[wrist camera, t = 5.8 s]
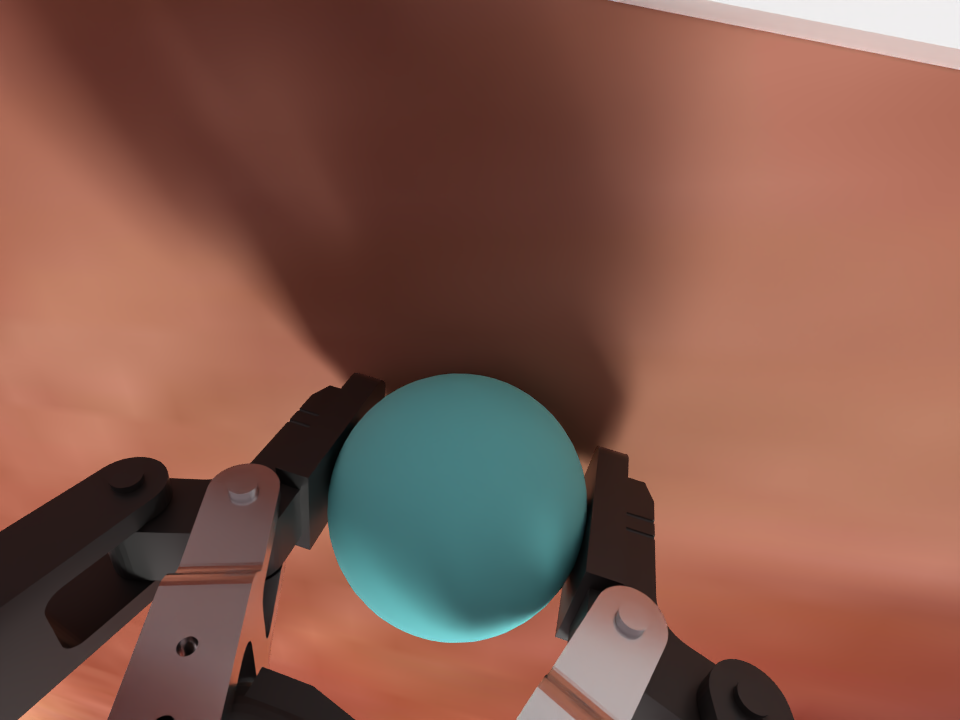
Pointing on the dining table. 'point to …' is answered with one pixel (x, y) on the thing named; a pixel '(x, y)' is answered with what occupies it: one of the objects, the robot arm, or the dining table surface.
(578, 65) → the dining table surface
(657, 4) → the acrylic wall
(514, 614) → the teal ball
